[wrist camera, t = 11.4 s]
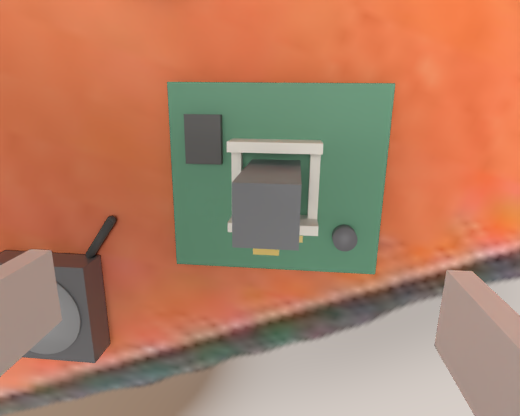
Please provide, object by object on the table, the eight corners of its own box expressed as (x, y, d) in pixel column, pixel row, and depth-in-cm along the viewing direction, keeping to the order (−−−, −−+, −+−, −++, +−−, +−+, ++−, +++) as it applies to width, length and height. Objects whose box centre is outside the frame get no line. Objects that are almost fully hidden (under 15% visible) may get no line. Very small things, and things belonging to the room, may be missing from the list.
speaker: (4, 250, 36) (-26, 265, 33) (100, 255, 36) (79, 271, 32) (21, 336, 39) (-6, 359, 36) (110, 343, 38) (91, 367, 35)
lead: (112, 213, 34) (107, 215, 33) (119, 218, 34) (115, 220, 34) (86, 253, 36) (82, 257, 35) (93, 258, 36) (89, 261, 35)
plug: (252, 158, 31) (231, 182, 21) (300, 160, 30) (301, 184, 21) (251, 211, 32) (232, 256, 22) (298, 213, 31) (298, 259, 22)
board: (171, 82, 31) (153, 79, 27) (391, 84, 29) (406, 80, 25) (180, 259, 35) (165, 278, 31) (372, 269, 33) (382, 290, 29)
